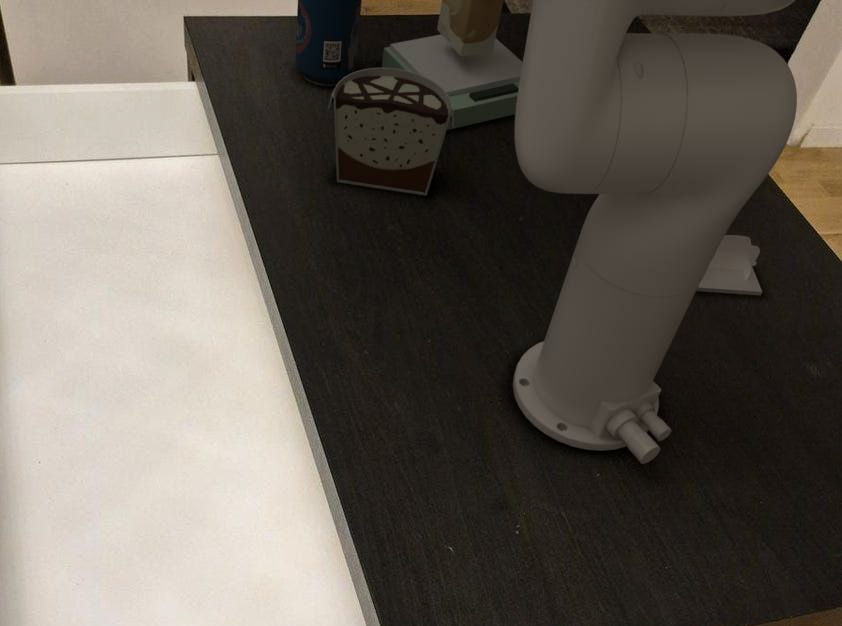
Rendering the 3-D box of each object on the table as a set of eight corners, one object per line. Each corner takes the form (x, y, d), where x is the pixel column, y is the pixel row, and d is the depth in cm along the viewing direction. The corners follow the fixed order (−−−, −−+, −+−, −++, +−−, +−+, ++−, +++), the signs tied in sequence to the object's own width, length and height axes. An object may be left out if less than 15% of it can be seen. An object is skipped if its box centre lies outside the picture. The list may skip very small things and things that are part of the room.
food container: (444, 163, 102) (460, 75, 94) (440, 197, 98) (457, 109, 90) (330, 145, 101) (336, 56, 93) (322, 179, 98) (328, 89, 90)
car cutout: (743, 251, 98) (761, 215, 94) (760, 295, 94) (780, 259, 90) (601, 241, 96) (615, 204, 93) (613, 285, 92) (627, 248, 89)
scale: (544, 107, 111) (550, 83, 108) (443, 131, 105) (448, 106, 103) (479, 47, 118) (483, 23, 115) (381, 67, 112) (384, 42, 110)
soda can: (291, 56, 111) (295, -51, 102) (349, 57, 113) (358, -49, 103) (299, 89, 107) (303, -19, 98) (359, 89, 109) (369, -18, 99)
